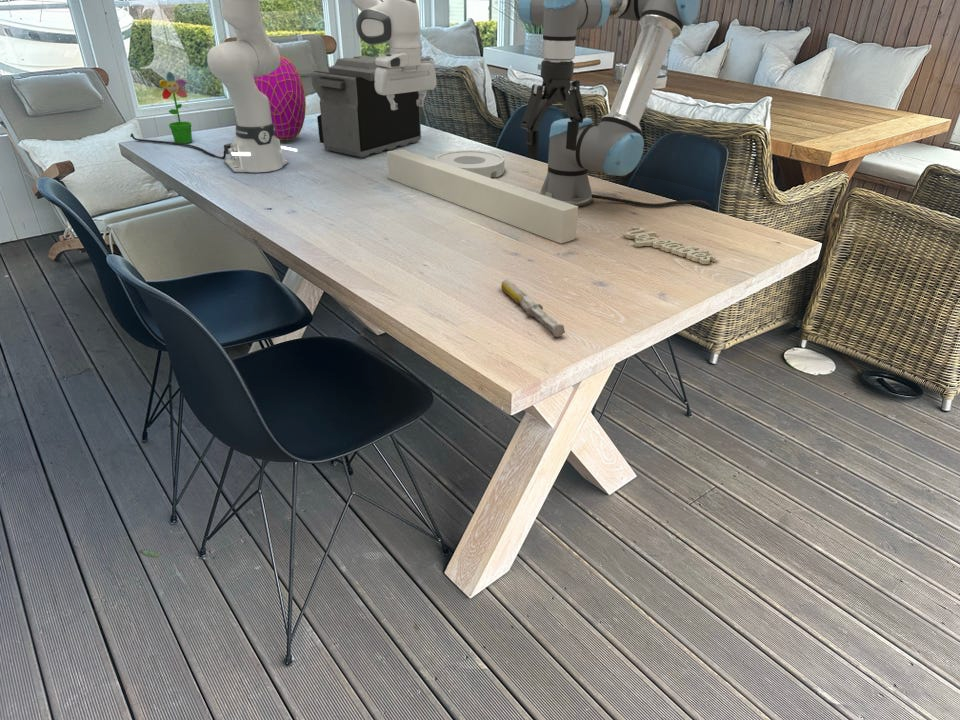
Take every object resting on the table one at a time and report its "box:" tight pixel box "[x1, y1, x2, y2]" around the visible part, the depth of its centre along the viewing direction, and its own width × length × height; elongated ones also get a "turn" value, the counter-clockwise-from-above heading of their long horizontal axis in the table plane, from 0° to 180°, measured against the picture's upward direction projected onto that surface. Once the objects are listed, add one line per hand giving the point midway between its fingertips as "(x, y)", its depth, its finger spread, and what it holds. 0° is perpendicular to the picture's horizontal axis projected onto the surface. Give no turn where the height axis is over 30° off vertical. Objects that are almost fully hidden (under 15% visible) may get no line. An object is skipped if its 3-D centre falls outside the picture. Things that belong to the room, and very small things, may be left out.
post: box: [386, 148, 579, 244], centre depth 196 cm, size 76×5×8 cm, turn 41°
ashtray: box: [434, 149, 505, 178], centre depth 228 cm, size 23×23×4 cm
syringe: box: [500, 279, 566, 338], centre depth 139 cm, size 25×4×3 cm, turn 21°
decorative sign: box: [624, 226, 717, 265], centre depth 170 cm, size 26×1×10 cm
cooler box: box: [310, 55, 422, 159], centre depth 250 cm, size 37×22×30 cm, turn 144°
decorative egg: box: [254, 55, 307, 142], centre depth 257 cm, size 19×19×30 cm
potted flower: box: [158, 71, 193, 144], centre depth 254 cm, size 9×8×25 cm
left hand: (407, 107), depth 206 cm, fingers open, 8 cm apart
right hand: (551, 153), depth 168 cm, fingers open, 13 cm apart
